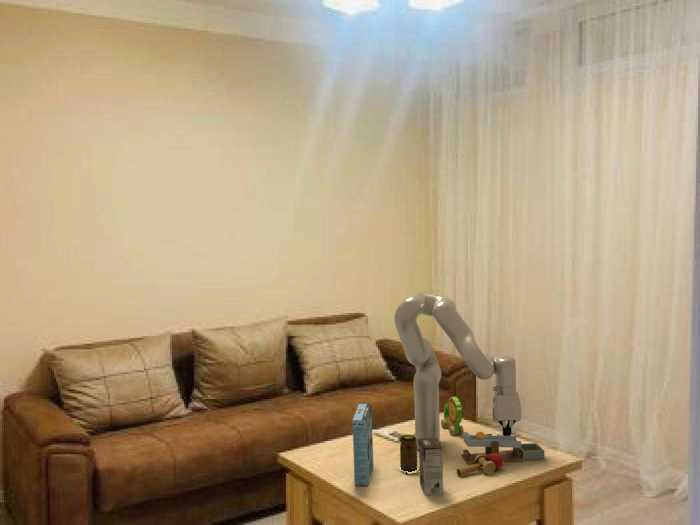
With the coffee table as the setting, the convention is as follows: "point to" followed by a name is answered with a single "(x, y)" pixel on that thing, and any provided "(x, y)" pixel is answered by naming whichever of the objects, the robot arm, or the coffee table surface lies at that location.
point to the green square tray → (531, 452)
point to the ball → (480, 436)
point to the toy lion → (453, 416)
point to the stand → (507, 456)
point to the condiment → (408, 453)
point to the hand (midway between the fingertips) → (507, 436)
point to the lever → (487, 442)
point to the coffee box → (431, 466)
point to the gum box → (362, 444)
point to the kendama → (483, 464)
